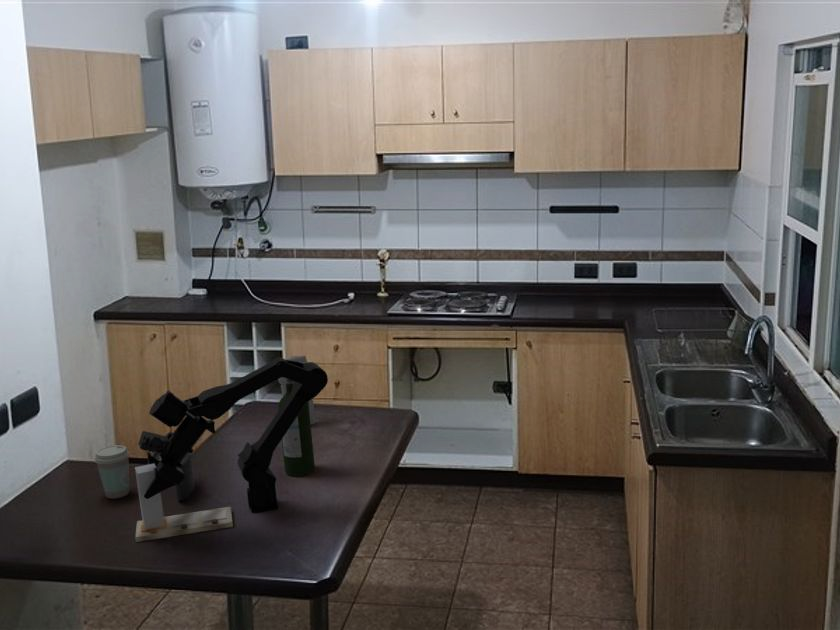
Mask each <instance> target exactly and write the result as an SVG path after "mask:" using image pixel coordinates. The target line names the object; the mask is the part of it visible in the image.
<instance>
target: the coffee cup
mask: <svg viewBox="0 0 840 630" xmlns="http://www.w3.org/2000/svg"><path fill="white" fill-rule="evenodd" d="M129 457H130V452H129V450H128V448H127V447H126V446H125V445H120V444H119V445H118V444H117V445H116V444H115V445H108V446H105V447H102V448H99V449H98V450H97V451H96V453H95V456H94V462H95V463H96V466H97V471H98V474H99V476H100V481H101V483H102V488H103V491H104V493H105V495H104V496H105V497H106V498H107V499H121V498H123V497H127V495H128V494H129V493H130V472H129V471H130V467H129Z"/></svg>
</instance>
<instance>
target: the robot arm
mask: <svg viewBox="0 0 840 630" xmlns="http://www.w3.org/2000/svg"><path fill="white" fill-rule="evenodd" d="M286 359H287V358H283V357H275V358H274V359H273V360H272V361H269V362H267V363H266V364H264V365H263V366H260V367H259V368H257V369H254V370H253V371H251V372H249V373H247V374H245V375H244V376H242V377H240V378H238V379H236V380H234V381H232V382H230V383H228V384H227V383H226V384H224V385H217V386H214V387H211V388H208V389H205V390H203V391H201V392H200V393H199V394H198V395H197V396H193V397H191V398H188V399H184V400H182V399H181V398H179V397H178V396H176V394H174V393H173V392H172V391H170V390H167V391H165V393H163V394H162V395H161V396H159V397H158V398H156V399H155V401H154V403H153V404H152V405H151V407H150V409H149V413H148V414H149V415H151V416H152V417H153V418H155V419H156V420H158V421H159V422H161V423H162V424H164V425H165V426H167V427H168V428H172V427H174V428H175V427H176V429H175V430H174V431H173V432H172V431H170V432H168V433H166V435H162V434H158V433H155V432H151V431H150V432H149V431H146V430H145V431H144V430H143V431H142V432H141V435H140V438H139V441H138V446H139V449H140V450H143V451H145V452H146V456H147V463H146V465H149V464H155V466H156V468H154V473H155V477H154V479H153V481H152V482H151V484H150V486H149V487H148V489H147V491H146V493H145V495H144V498H146V499H149V498H151V497H153V496H154V495H156V494H158V493H162V492H164V491H166V490H168V489H169V488H170V489H171V488H172V487H176V485H179V486H180V485H181V484H182V482H183V481H184V480H185V476H184V473H183V471H182V469H181V466H182V465H183V464H182V461H183V459H184V458H185V457H186V455H187V454H188V453H190V455H192V454H193V452H194V450H195V449H193V448H194V446H195V445H196V444H197V442H198V441H199V440H200V439H201V437H202V436H203V435H204V433H205V432H206V431H209V432H210V433H211V434H216V429H215V424H216V423H215V420H217V419H220V417H222V416H224V414H226V413H227V412H228V411H230V410H231V409H232V408H233V407H234V406H235V405H236V403H237V402H239V401H240V400H242V399H244V398H245V397H248V396H249V395H251V394H254V393H255V392H257V391H259V390H260V389H263V388H264V387H266V386H268V385H270V384H272V383H273V382H274V383H275V382H276V381H277V380H278V379H279V378H281V377H284V378H287V379H290V380H292V381H294V384H293V387H292V391H291V393H290V395H289V396H288V398H287V399H286V401H285V402H284V404H283V405H282V407H281V408H280V409H278V410H277V413H275V415H274V417H273V418H272V420H271V421H270V423H269V424H268V426H267V427H266V429H265V430H264V432H263V433H262V435H261V436H260V438H259V439H258V440H257V441H255V442H254V443H253V444H251V443H250V442H248V441H247V442H246V444H245V445H244V447H243V449H242V450H241V452H240V453H238V454H237V456H238V460H237V464H236V465H237V469H238V470H239V472H240V474H241V476H242V477H243V480H245V481H246V482H247V483H248V488H246V497H247V505H248V508H249V509H250V510H251V511H250V512H251V513H258V512H264V511H271V510H277V509H279V504H278V500H277V489H276V488H277V487H276V483H277V478H276V476H275V475H274V473H273V471H272V470H271V468H270V466H271V461H272V457H273V455H274V453H275V450H276V449H277V447H278V445H280V443H281V442H282V438H283V437H284V435H285V434H286V432H287V431H288V429H289V428H290V426H291V425H292V423H293V422H294V421H295V419H296V418H297V416H298V415H299V413H300V412H301V410H302V409H303V407H304V406H305V404H306V403H307V402H309V401H310V400H311V399H312V400H313V399H314V398H316V397H317V396H318V395H319V394H320V393H321V392H322V390H324V389H325V388H326V386H327V385H328V381H329V379H328V375H327V372H326V371H325V370H324V369H323V368H322V367H320V365H318V363H315V362H312V361H311V362H310V361H309V362H308V363H305V364H304V363H300V362H297V361H291V360H286ZM278 381H279V380H278Z"/></svg>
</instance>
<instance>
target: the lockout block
mask: <svg viewBox="0 0 840 630" xmlns="http://www.w3.org/2000/svg"><path fill="white" fill-rule="evenodd" d="M154 468H156V466H155V464H149V465H147V464H146V465H145V464H144V465H140V466H135V467H134V471H135V477H136V478H135V479H136V486H137V493H138V498H139V507H140V511H141V512H140V514H141V519H142V521H143V525H144V528H145V530H148V529H152V528H157V527H161V526H165V522H164V517H165V515H164V508H163V502H162V494H161V493H162V492H160V493H158V494H156V495H154V496H153V497H151V498H149V499H146V498H144V495H145V493H146V491H147V489H148V487H149V486H150V484H151V482H152V481H153V479H154V477H155V473H154Z"/></svg>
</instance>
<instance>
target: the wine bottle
mask: <svg viewBox="0 0 840 630" xmlns="http://www.w3.org/2000/svg"><path fill="white" fill-rule="evenodd" d="M285 380H286V394H285V395H284V396H283V395H282V397H281V399H280V400H279V402H278V404H277V405H278V407H277V409H278V410H279V409H280V408H281V407H282V405H283V404H284V402H285V401H286V399H287V398H288V396H289V395H290V393H291V391H292V387H293V384H294V381H292V380H290V379H287V378H285ZM312 435H313V434H312V425H311V423H310V413H309V403H308V402H307V403H306V404H305V406H304V407H303V409H302V410H301V412H300V413H299V415H298V416H297V418H296V419H295V421H294V422H293V423H292V425H291V426H290V428H289V429H288V431H287V432H286V434H285V435H284V437H283V438H282V440H281V445H282V446H281V447H282V456H283V464H284V465H283V466H284V472H285V474H286V475H288V476H290V477H303V476H304V477H305V476H308V475H310V474H312V473H313V472H314V471H315V467H316V466H315V456H314V445H313V437H312Z"/></svg>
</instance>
